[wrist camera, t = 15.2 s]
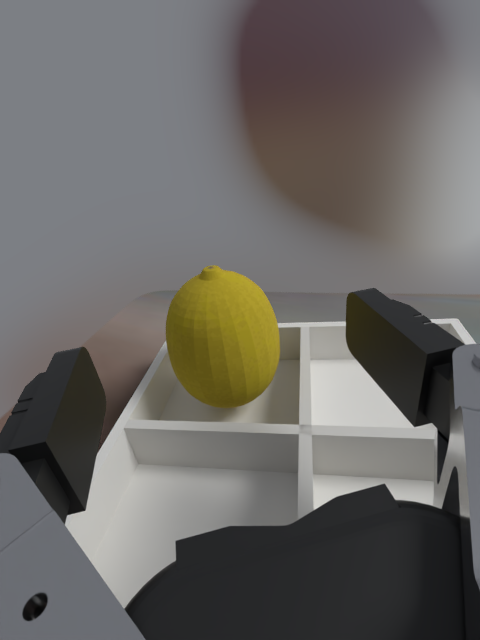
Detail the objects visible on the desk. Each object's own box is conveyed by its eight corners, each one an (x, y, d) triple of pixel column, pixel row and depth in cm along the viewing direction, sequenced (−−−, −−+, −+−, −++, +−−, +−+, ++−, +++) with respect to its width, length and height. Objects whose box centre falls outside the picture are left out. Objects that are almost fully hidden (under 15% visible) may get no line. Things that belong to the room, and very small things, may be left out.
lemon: (165, 426, 18) (120, 288, 14) (215, 364, 23) (191, 244, 19) (261, 455, 16) (240, 300, 12) (298, 380, 20) (291, 247, 16)
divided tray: (754, 891, 7) (875, 880, 5) (13, 718, 10) (-42, 682, 8) (448, 361, 21) (457, 318, 19) (183, 363, 24) (174, 326, 23)
